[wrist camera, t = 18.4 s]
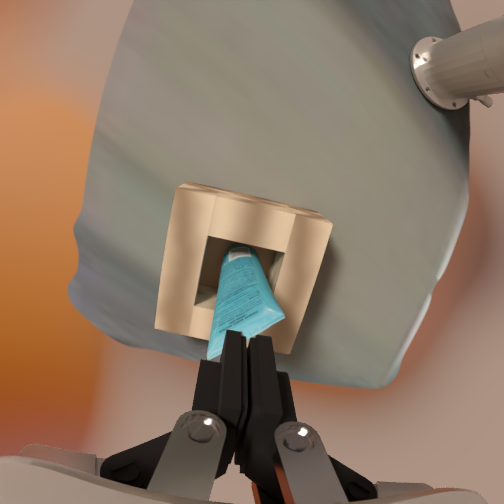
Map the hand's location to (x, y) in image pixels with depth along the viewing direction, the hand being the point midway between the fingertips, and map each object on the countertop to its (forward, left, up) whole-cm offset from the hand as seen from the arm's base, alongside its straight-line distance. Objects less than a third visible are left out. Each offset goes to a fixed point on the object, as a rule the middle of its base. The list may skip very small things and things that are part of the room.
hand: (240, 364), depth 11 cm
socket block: (-1, +7, -32) cm, 33 cm away
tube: (-2, +6, -31) cm, 32 cm away
